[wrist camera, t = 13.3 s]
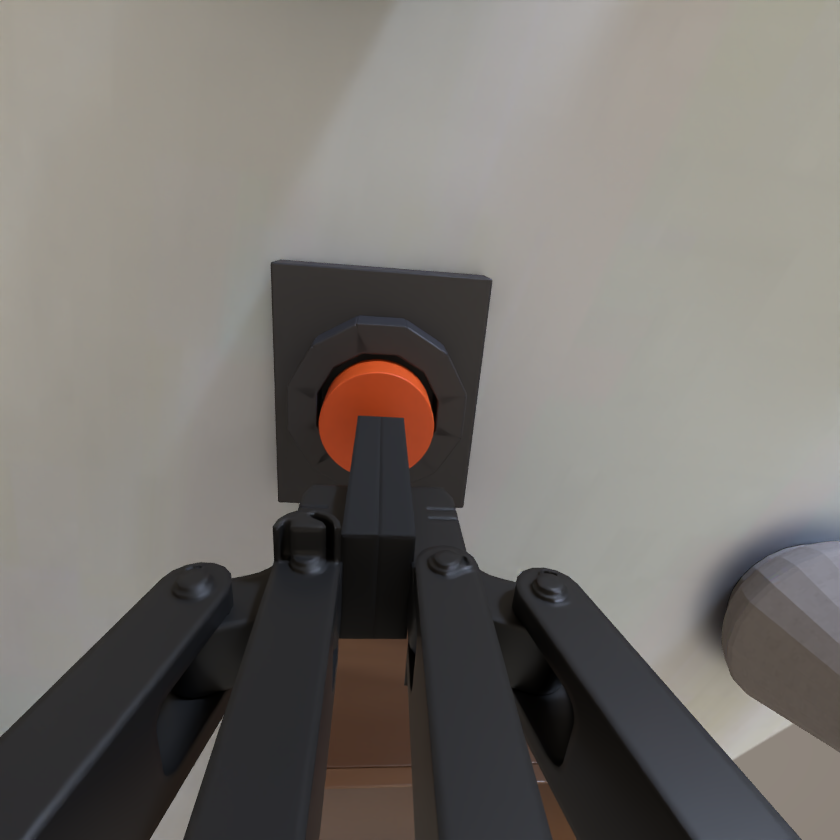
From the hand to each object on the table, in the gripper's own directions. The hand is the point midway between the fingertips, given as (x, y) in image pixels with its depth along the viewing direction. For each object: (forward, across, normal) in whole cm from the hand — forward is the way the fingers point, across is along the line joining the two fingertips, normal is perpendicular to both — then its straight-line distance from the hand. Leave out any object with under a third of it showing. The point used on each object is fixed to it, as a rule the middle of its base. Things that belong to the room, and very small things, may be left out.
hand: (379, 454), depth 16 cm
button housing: (+8, 0, 0) cm, 8 cm away
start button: (+4, 0, 0) cm, 4 cm away
